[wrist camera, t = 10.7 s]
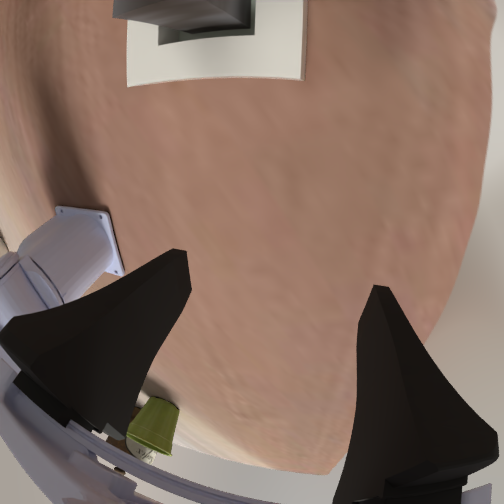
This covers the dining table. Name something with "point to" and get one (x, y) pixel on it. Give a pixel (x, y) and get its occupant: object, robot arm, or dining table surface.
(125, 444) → the wooden container
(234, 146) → the dining table surface
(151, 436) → the plant pot
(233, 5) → the peg
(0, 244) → the lidded jar
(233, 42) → the socket block
